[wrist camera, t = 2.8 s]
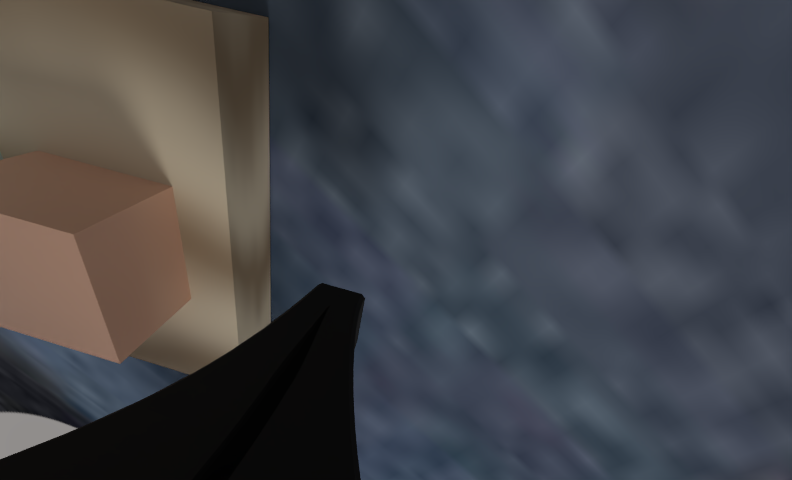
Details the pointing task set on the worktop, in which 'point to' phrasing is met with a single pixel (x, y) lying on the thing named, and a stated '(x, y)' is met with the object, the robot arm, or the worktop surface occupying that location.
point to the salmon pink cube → (87, 255)
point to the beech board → (159, 137)
